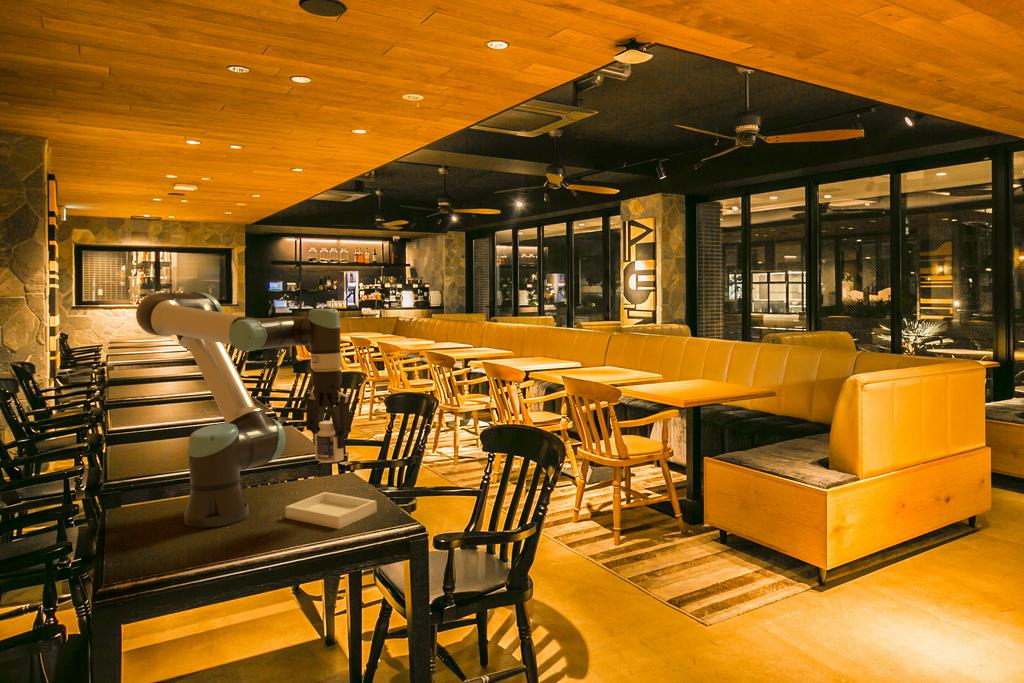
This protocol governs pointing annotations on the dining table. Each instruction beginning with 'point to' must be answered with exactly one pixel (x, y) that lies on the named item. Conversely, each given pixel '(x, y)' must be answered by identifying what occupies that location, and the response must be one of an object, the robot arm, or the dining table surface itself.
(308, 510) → the serving tray
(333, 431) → the pill bottle
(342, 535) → the dining table surface
